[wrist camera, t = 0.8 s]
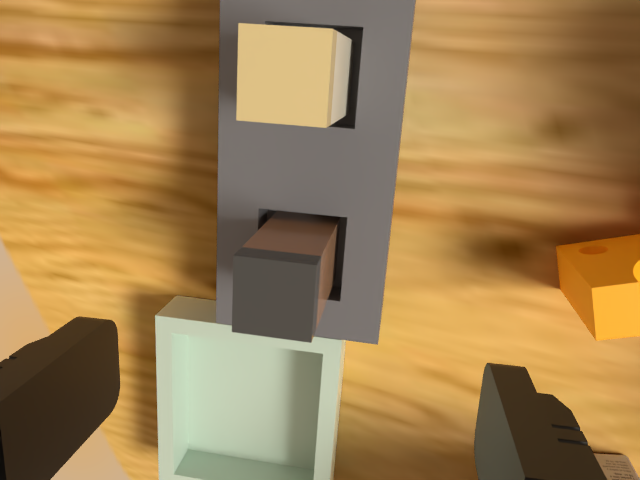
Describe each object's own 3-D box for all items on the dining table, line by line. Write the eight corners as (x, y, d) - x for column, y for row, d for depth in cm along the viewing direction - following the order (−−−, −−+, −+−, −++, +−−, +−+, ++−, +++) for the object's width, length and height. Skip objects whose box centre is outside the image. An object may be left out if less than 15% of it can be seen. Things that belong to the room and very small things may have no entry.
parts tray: (176, 295, 35) (154, 315, 32) (348, 317, 34) (342, 340, 31) (177, 453, 39) (159, 484, 36) (333, 479, 37) (326, 514, 34)
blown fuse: (277, 210, 31) (233, 255, 23) (340, 217, 30) (316, 265, 22) (274, 270, 32) (231, 332, 24) (335, 277, 31) (311, 342, 24)
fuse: (285, 37, 28) (238, 23, 20) (354, 41, 27) (333, 28, 20) (282, 108, 29) (236, 120, 21) (348, 113, 28) (326, 127, 21)
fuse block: (245, -20, 29) (220, -33, 26) (416, -11, 28) (417, -24, 24) (237, 295, 35) (216, 322, 31) (381, 313, 33) (377, 344, 30)
